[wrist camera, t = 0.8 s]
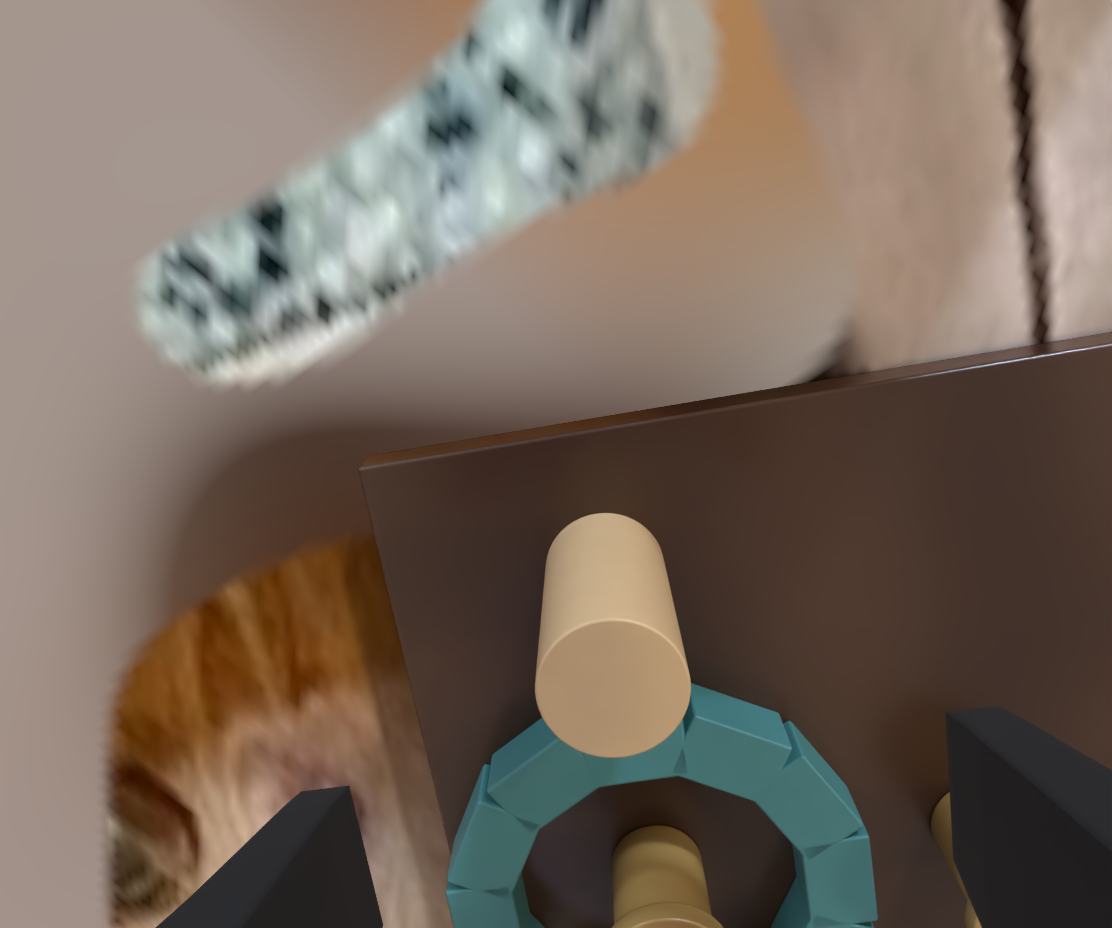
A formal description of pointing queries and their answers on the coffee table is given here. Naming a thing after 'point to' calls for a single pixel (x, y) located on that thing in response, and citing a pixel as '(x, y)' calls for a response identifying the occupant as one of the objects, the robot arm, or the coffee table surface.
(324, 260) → the coffee table surface
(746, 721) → the ring
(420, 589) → the rack
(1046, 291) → the coffee table surface
